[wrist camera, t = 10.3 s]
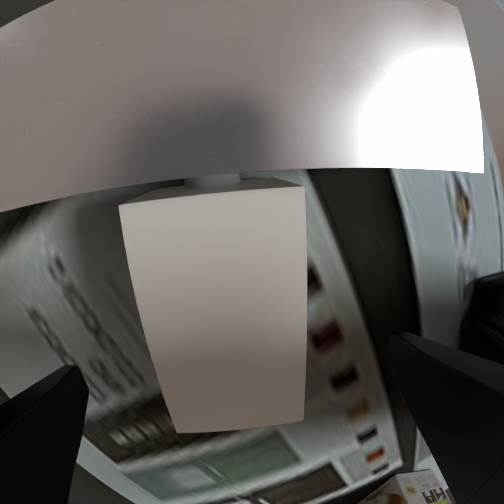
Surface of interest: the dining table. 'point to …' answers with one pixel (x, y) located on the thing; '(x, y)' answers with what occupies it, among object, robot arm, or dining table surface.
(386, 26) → the white block
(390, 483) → the coffee box
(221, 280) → the plug
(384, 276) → the dining table surface
